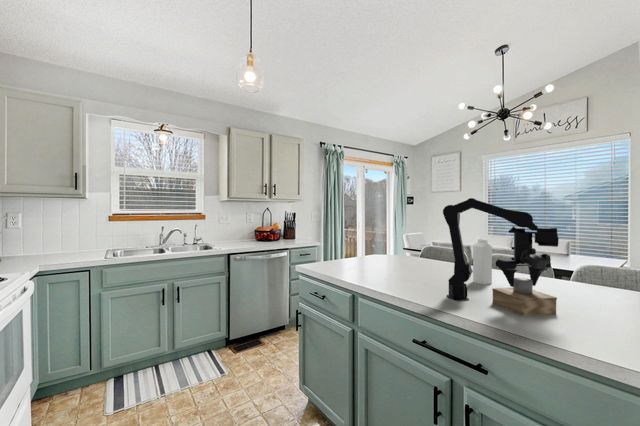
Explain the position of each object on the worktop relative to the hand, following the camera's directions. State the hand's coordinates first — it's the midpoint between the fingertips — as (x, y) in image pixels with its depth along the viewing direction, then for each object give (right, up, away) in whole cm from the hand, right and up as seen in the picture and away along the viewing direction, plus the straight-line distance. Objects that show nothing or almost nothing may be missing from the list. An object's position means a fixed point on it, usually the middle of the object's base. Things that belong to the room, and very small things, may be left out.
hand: (522, 286), depth 111 cm
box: (0, -8, 0) cm, 8 cm away
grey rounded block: (0, -3, 0) cm, 2 cm away
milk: (+6, -8, +38) cm, 40 cm away
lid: (0, -3, 0) cm, 3 cm away
